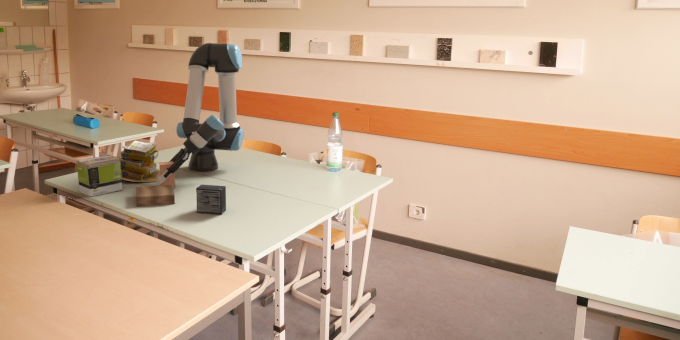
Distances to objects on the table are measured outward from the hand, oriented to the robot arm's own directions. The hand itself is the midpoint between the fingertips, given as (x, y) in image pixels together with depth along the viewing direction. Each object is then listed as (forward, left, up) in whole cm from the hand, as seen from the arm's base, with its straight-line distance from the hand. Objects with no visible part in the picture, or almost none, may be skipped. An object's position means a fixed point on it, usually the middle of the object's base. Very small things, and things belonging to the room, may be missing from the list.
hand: (158, 179), depth 245 cm
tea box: (+24, -1, -4) cm, 25 cm away
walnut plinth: (+2, +17, -4) cm, 17 cm away
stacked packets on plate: (+9, -23, -4) cm, 25 cm away
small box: (-19, +37, -4) cm, 42 cm away
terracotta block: (-4, 0, -3) cm, 5 cm away
